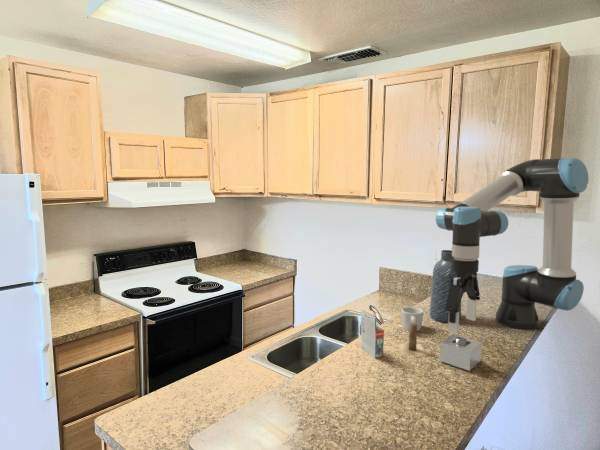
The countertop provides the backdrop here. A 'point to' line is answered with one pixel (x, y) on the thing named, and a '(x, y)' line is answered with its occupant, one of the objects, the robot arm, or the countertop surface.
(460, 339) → the cylinder
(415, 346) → the stand
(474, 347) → the square through-hole block
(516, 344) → the countertop surface
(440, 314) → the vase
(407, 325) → the cup
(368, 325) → the ink box
